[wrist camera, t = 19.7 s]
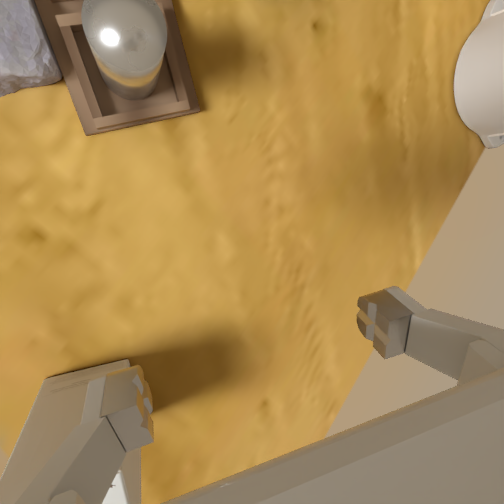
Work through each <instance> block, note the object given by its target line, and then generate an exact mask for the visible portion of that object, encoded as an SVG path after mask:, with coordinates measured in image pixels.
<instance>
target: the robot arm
mask: <svg viewBox="0 0 504 504" xmlns="http://www.w3.org/2000/svg"><path fill="white" fill-rule="evenodd" d="M454 97H455V103H456V107H457V110H458V113H459V115H460V117H461V119H462V121H463V122H464V123H465V125H466V126H467V127H468V128H470V129H471V130H472V131H474V132H475V133H477V134H478V135H479V136H480V138H481V140H482V142H483V144H484V145H485V147H486V148H488V149H490V148H496V147H498V146H500V145H502V144H504V0H490V2H489V3H488V5H487V7H486V9H485V12H484V14H483V17H482V19H481V22H480V23H479V25H478V26H477V27H476V28H475V30H474V31H473V32H472V33H471V35H470V36H469V37H468V39H467V40H466V42H465V44H464V46H463V48H462V50H461V53H460V55H459V58H458V61H457V65H456V70H455V77H454ZM357 306H358V307H359V308H360V311H359V312H358V314H357V324H358V328H359V330H360V331H361V333H362V334H363V336H364V337H365V338H366V339H369V340H371V341H373V347H374V348H375V349H376V350H377V351H378V353H379V354H380V355H381V356H382V357H383V358H384V359H387V358H390V357H393V356H396V355H400V354H403V353H405V354H407V355H408V356H410V357H412V358H414V359H416V360H418V361H420V362H422V363H424V364H426V365H428V366H430V367H432V368H434V369H436V370H438V371H440V372H442V373H444V374H446V375H448V376H450V377H452V378H454V379H456V380H458V383H457V386H455V387H453V388H450V389H448V390H445V391H443V392H440V393H438V394H435V395H433V396H430V397H428V398H425V399H423V400H420V401H418V402H415V403H412V404H410V405H408V406H405V407H403V408H400V409H397V410H395V411H392V412H390V413H388V414H385V415H383V416H380V417H377V418H375V419H372V420H370V421H367V422H365V423H362V424H360V425H357V426H355V427H353V428H350V429H347V430H345V431H343V432H340V433H337V434H335V435H333V436H330V437H327V438H325V439H322V440H320V441H317V442H315V443H312V444H310V445H307V446H305V447H302V448H300V449H297V450H294V451H292V452H289V453H287V454H284V455H282V456H279V457H277V458H274V459H272V460H269V461H267V462H264V463H262V464H259V465H257V466H254V467H252V468H249V469H247V470H244V471H242V472H239V473H237V474H234V475H232V476H229V477H227V478H224V479H222V480H219V481H216V482H214V483H211V484H209V485H206V486H204V487H201V488H199V489H196V490H194V491H191V492H189V493H186V494H184V495H181V496H179V497H176V498H174V499H171V500H169V501H166V502H164V503H161V504H504V330H503V329H500V328H496V327H493V326H489V325H486V324H483V323H479V322H475V321H472V320H469V319H465V318H461V317H458V316H455V315H451V314H448V313H444V312H441V311H437V310H434V309H428V310H427V309H426V308H424V307H423V306H422V305H421V304H419V303H418V302H417V301H415V300H414V299H413V298H411V297H410V296H409V295H408V294H406V293H405V292H404V291H403V290H401V289H400V288H399V287H396V286H392V287H389V288H386V289H383V290H380V291H377V292H374V293H371V294H367V295H364V296H361V297H359V299H358V303H357ZM152 411H153V401H152V395H151V390H150V387H149V384H148V382H147V381H145V380H144V372H143V370H142V368H141V366H140V365H136V366H132V367H129V368H125V369H122V370H118V371H115V372H111V373H108V374H105V375H102V376H98V377H94V378H91V380H90V381H89V383H88V388H87V393H86V399H85V404H84V409H83V414H82V419H81V424H80V425H78V426H75V427H74V429H73V430H72V431H71V432H70V434H69V435H68V436H67V438H66V439H65V440H64V441H63V443H62V444H61V445H60V446H59V448H58V449H57V450H56V452H55V453H54V454H53V455H52V457H51V458H50V459H49V460H48V462H47V463H46V464H45V466H44V467H43V468H42V469H41V471H40V472H39V473H38V474H37V476H36V477H35V478H34V480H33V481H32V482H31V483H30V485H29V486H28V487H27V488H26V490H25V491H24V492H23V494H22V495H21V496H20V497H19V499H18V500H17V501H16V502H15V504H102V502H103V500H104V498H105V496H106V494H107V492H108V490H109V488H110V486H111V484H112V482H113V480H114V478H115V476H116V474H117V472H118V470H119V468H120V466H121V464H122V462H123V460H124V458H125V456H126V452H129V451H131V450H134V449H136V448H139V447H141V446H144V445H147V444H149V443H152V442H154V429H153V420H152V418H151V416H150V414H151V412H152Z"/></svg>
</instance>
